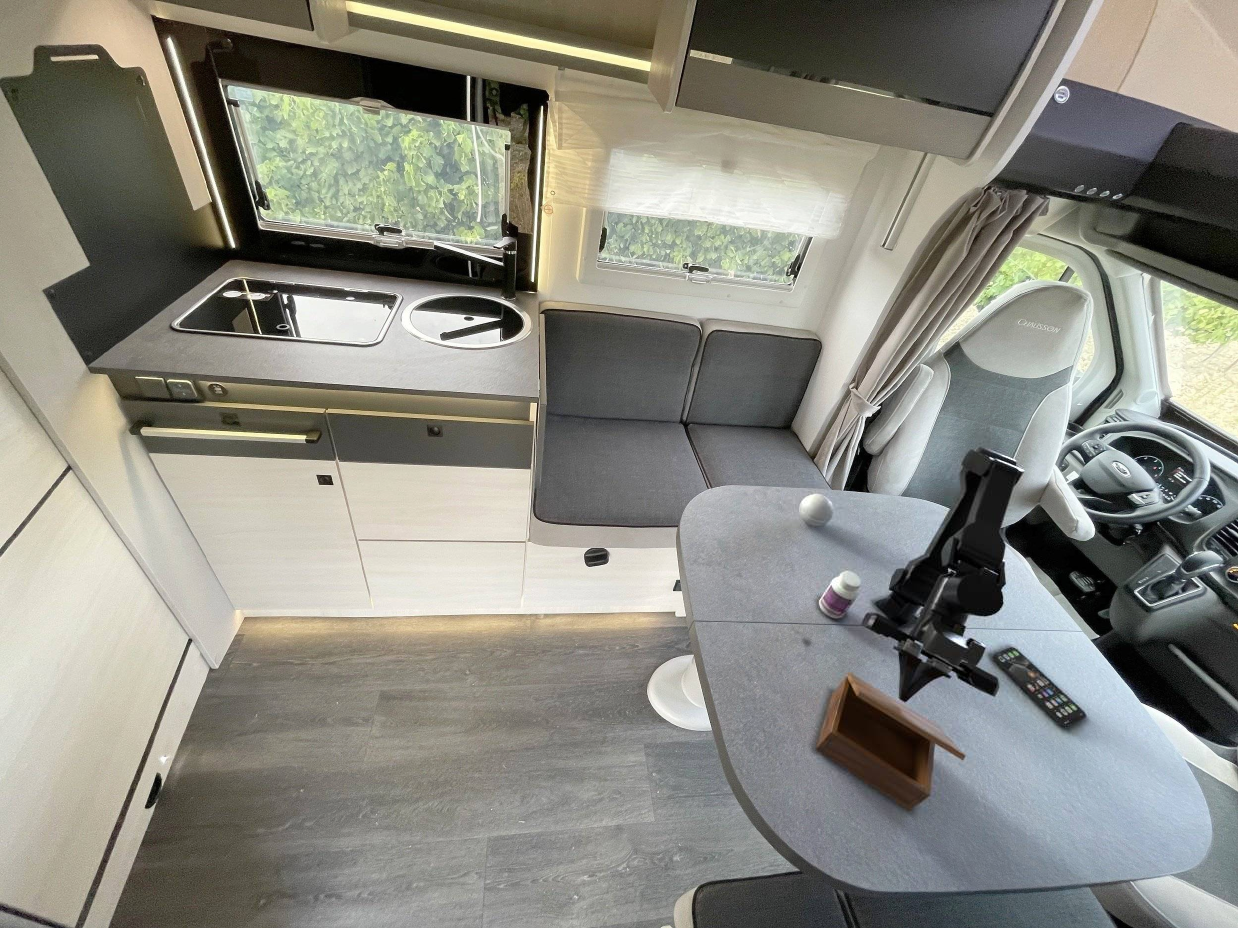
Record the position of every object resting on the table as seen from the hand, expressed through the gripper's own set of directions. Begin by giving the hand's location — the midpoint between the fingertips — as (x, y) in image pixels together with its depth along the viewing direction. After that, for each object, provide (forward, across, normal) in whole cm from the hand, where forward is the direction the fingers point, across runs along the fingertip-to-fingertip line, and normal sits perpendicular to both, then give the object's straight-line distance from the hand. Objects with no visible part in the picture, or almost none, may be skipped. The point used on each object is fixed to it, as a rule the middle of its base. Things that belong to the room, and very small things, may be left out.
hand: (901, 700), depth 77 cm
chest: (+10, 0, +5) cm, 11 cm away
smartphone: (-14, +27, +29) cm, 42 cm away
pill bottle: (-8, -12, +23) cm, 27 cm away
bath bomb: (-25, -23, +41) cm, 53 cm away
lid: (+2, 0, -1) cm, 2 cm away
